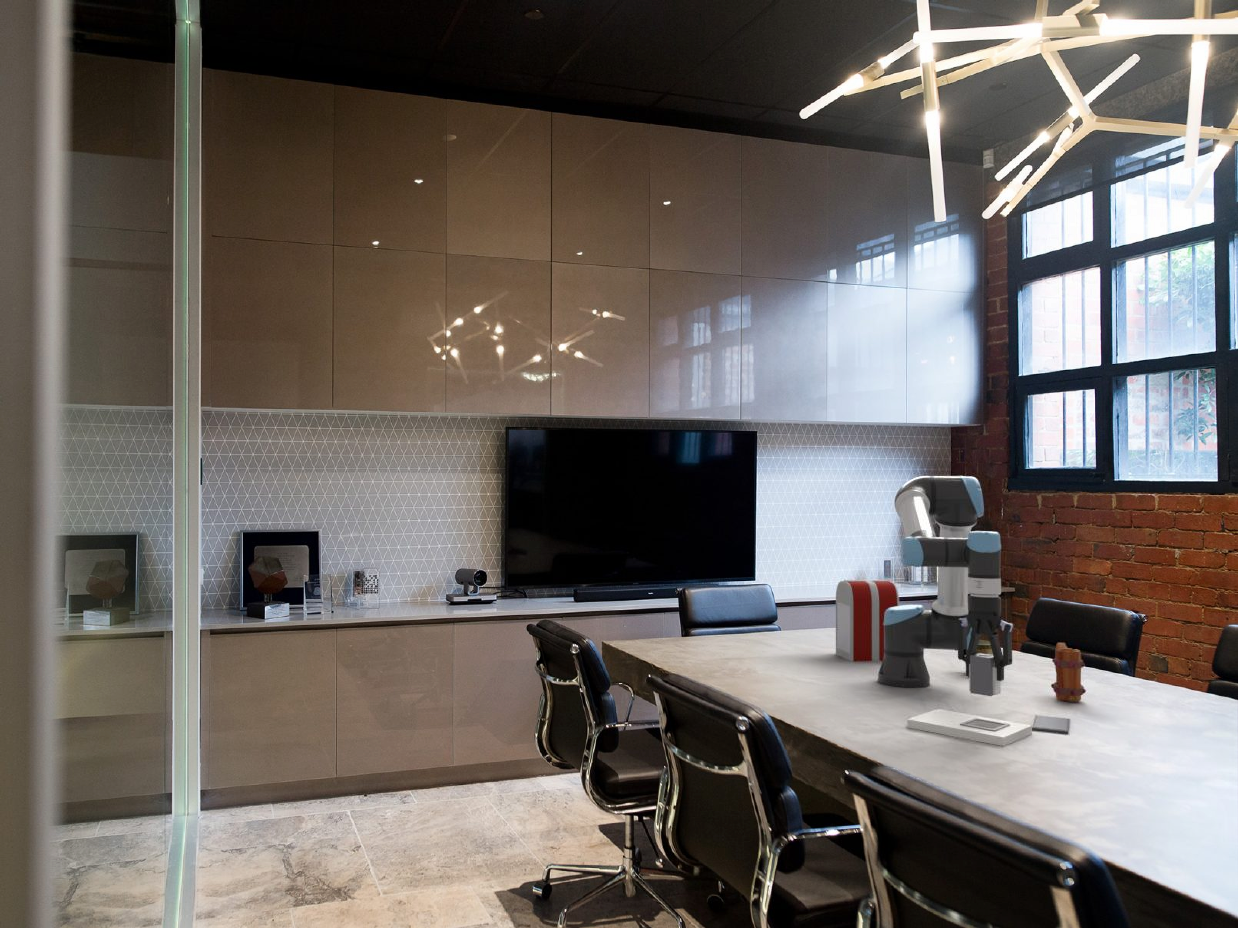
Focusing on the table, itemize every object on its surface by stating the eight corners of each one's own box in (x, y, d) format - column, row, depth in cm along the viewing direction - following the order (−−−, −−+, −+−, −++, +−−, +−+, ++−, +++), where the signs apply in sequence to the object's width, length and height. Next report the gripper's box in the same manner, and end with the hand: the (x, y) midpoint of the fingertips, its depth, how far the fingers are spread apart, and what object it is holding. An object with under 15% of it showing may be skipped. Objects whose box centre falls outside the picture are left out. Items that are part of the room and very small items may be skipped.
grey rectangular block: (970, 693, 229) (970, 654, 229) (979, 690, 232) (979, 652, 233) (990, 696, 225) (990, 657, 225) (999, 693, 229) (999, 654, 229)
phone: (1032, 732, 232) (1031, 727, 232) (1035, 719, 245) (1035, 714, 245) (1068, 736, 228) (1068, 730, 228) (1069, 723, 242) (1069, 718, 242)
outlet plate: (907, 727, 234) (907, 717, 234) (937, 716, 245) (937, 707, 246) (1003, 746, 217) (1003, 735, 217) (1031, 733, 228) (1031, 724, 229)
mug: (1088, 704, 260) (1088, 649, 261) (1057, 703, 262) (1056, 648, 262) (1074, 693, 275) (1074, 641, 275) (1044, 692, 276) (1044, 640, 277)
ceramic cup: (1001, 674, 304) (1000, 642, 304) (982, 677, 298) (981, 645, 298) (966, 667, 314) (965, 637, 315) (947, 670, 309) (946, 640, 309)
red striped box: (834, 653, 341) (834, 578, 342) (882, 652, 343) (881, 577, 344) (850, 661, 325) (850, 582, 326) (900, 660, 327) (900, 582, 328)
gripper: (941, 593, 233) (942, 688, 232) (1015, 599, 220) (1015, 700, 220) (955, 591, 238) (956, 684, 238) (1028, 597, 226) (1029, 695, 225)
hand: (984, 691), depth 229 cm, fingers closed on grey rectangular block, 5 cm apart
